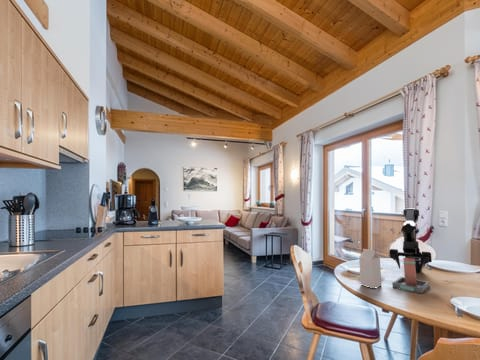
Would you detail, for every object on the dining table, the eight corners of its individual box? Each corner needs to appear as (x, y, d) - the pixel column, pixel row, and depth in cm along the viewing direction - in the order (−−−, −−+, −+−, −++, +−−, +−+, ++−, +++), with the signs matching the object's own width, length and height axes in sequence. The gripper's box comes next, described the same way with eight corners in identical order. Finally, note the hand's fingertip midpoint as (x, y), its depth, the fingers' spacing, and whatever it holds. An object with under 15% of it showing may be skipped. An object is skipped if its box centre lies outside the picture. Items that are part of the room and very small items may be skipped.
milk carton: (372, 289, 133) (370, 251, 135) (360, 285, 140) (358, 249, 141) (381, 287, 137) (379, 250, 138) (369, 283, 143) (367, 247, 144)
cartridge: (402, 285, 137) (400, 257, 137) (410, 283, 138) (408, 256, 139) (411, 288, 132) (409, 260, 133) (419, 286, 133) (417, 259, 134)
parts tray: (392, 287, 135) (392, 282, 135) (401, 281, 144) (400, 276, 144) (422, 294, 126) (421, 288, 126) (429, 287, 134) (429, 282, 135)
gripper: (388, 234, 146) (387, 258, 137) (429, 236, 135) (431, 263, 126) (391, 245, 152) (390, 270, 143) (431, 249, 141) (432, 275, 132)
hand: (409, 269), depth 136 cm, fingers open, 9 cm apart
